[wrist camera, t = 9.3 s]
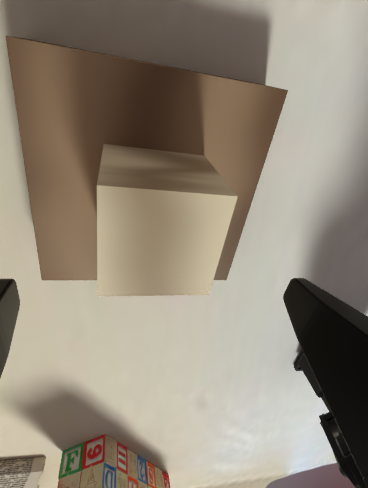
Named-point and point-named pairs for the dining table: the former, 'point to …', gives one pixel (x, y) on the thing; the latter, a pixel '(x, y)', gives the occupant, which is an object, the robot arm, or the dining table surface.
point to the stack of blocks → (107, 467)
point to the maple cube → (159, 222)
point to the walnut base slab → (126, 138)
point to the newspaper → (21, 472)
